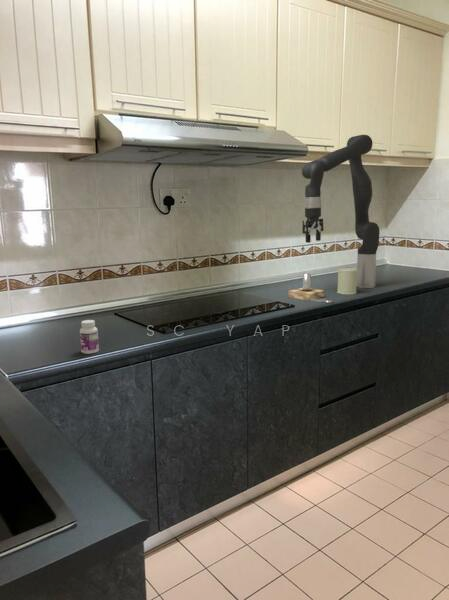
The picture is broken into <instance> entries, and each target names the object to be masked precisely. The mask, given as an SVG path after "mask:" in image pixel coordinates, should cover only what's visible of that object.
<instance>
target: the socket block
mask: <svg viewBox="0 0 449 600" xmlns="http://www.w3.org/2000/svg"><path fill="white" fill-rule="evenodd" d="M287 293H288V298H290V299H291V298H292V299H296V300H298V299H299V300H304V301H310V298H318V299H322V298H324V297H325V290H324V289H319V288H311V291H310V292H304V291H303V287H300V288H295V289H291V290H287Z"/></svg>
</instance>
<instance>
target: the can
mask: <svg viewBox="0 0 449 600" xmlns="http://www.w3.org/2000/svg"><path fill="white" fill-rule="evenodd" d="M356 285H357V268H352V267H341V268H338V269H337V291H336V293H337V294H339V295H340V294H341V295H347V296H348V295H355V294H357V287H356Z"/></svg>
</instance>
